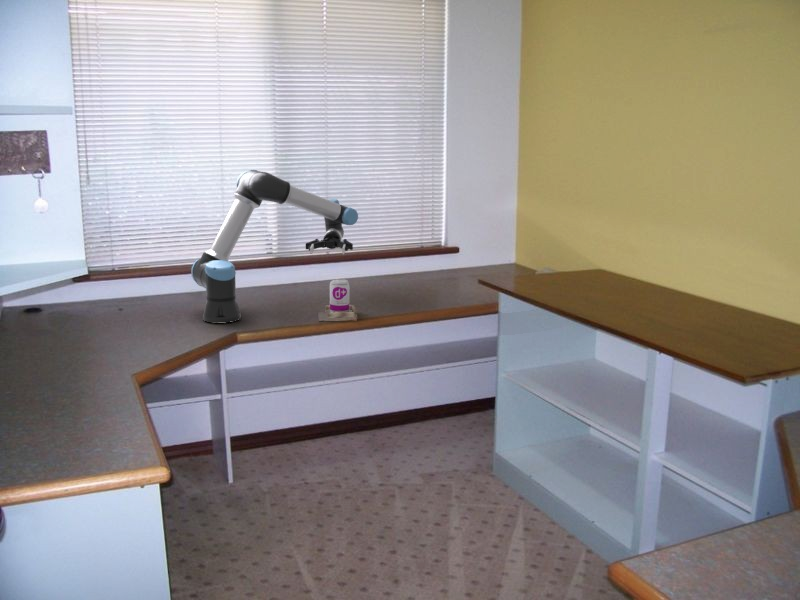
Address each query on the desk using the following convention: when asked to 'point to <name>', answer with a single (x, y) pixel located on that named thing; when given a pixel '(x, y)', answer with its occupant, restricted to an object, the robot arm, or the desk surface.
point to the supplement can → (339, 295)
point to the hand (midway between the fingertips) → (327, 251)
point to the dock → (341, 314)
